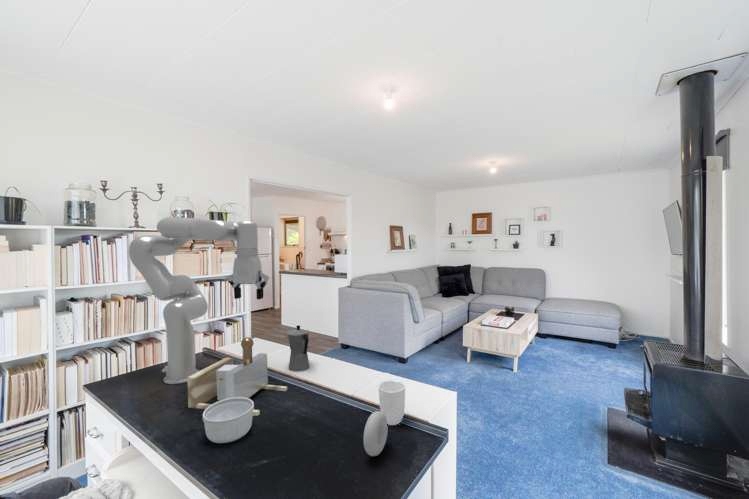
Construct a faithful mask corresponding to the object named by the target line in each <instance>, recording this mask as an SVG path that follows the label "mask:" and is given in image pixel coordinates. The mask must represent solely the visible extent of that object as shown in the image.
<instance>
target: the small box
mask: <svg viewBox="0 0 749 499" xmlns="http://www.w3.org/2000/svg"><path fill="white" fill-rule="evenodd" d="M238 365H239V364H234V365H224V366H222V367H221V368H219V369H218V370H217V371H216V376H217V395H216V396H217V398H216V399H217V402H218V401H221V400H224V399H226V380H225V373H226V372H228V371H230V370H231V369H233V368H235V367H237V366H238Z"/></svg>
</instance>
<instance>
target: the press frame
mask: <svg viewBox="0 0 749 499" xmlns="http://www.w3.org/2000/svg"><path fill="white" fill-rule="evenodd" d="M224 365H235V364H234V357H225V358H222V359H221V360H219V361H216V362H214V363H213V364H211V365H209V366H206V367H205V368H202V369H201V370H199V372H197V373H195V374H193V375H191V376H189V377H187V381H188V382H187V402H188V403H187V404H188V408H190V409H199V410H205V409H206V408H208V407H209V406H210V405H212V404H213V403H212V404H211V403H207V402H209V401H210V400H212V399H213V398H215V397H216V396H217V376H216V371H217V370H218V369H219V368H221V367H222V366H224ZM260 390H268V391H269V390H271V391H278V392H279V391H280V392H286V391H287V390H288V386H284V385H274V384H266V385H265V386H264V387H262V388H261V389H260ZM260 412H261V411H260V409H254V410H253V417H256V416H257V417H258V416H259V415H260Z"/></svg>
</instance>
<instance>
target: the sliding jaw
mask: <svg viewBox="0 0 749 499" xmlns="http://www.w3.org/2000/svg"><path fill="white" fill-rule="evenodd" d="M240 346H241V348H242V363H240V364H237V365H238V366H237V367H235V368H233V369H231V370H230V371H228V372H226V373H225V380H226V399H228V398H234V397H244V398H248V399H250V398H251V397H252V396H253V395H255V394H256V393H257V392H258V391H260V390H262V389H261V388H262V387H264V386H265V385H266V384H267V385H269V374H268V353H264V352H263V353H261V352H259V353H258V354H256V355H254V356H253V346H254V340H253V338H251V337H249V336H247V337H244V338H243V339H242V340H241V342H240Z"/></svg>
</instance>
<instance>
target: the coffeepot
mask: <svg viewBox="0 0 749 499" xmlns="http://www.w3.org/2000/svg"><path fill="white" fill-rule="evenodd" d="M309 335H310V331H309V330H307V329H301V325H296V329H290V331H287V338H288V342H289V343H288V344H289V349H290V355H289V362H288V370H290V371H291V372H292V371H293V372H302V371H306V370H308V369H309V368H310V360H309V356H308V348H309V341H310V340H309Z"/></svg>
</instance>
